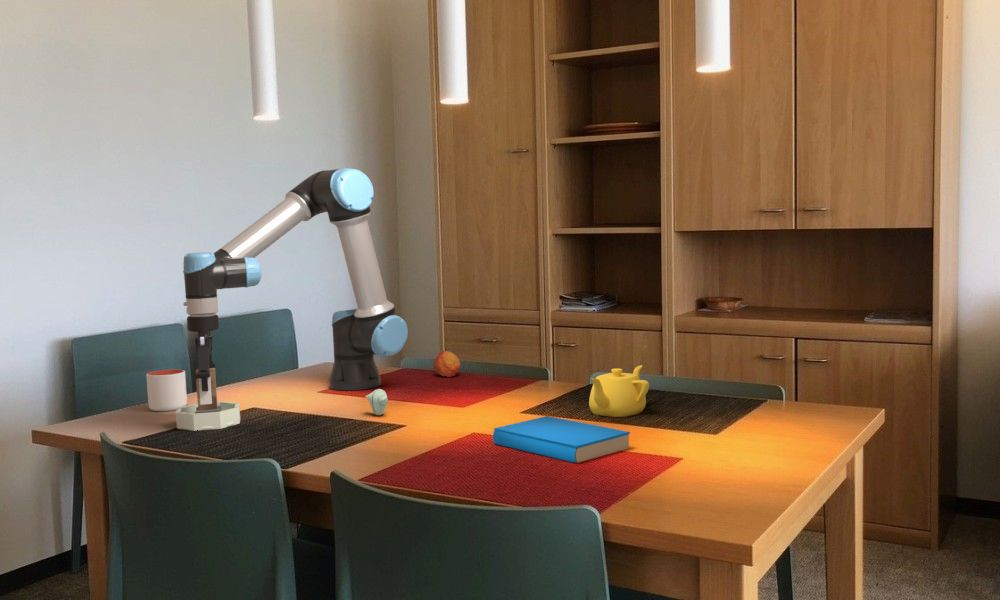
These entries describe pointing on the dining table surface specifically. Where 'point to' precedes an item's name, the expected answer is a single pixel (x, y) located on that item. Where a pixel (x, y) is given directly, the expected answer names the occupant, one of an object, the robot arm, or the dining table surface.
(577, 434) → the book
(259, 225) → the robot arm
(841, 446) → the dining table surface
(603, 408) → the teapot
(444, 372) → the fruit
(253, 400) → the dining table surface
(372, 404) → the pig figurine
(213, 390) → the brown tall block
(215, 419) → the octagonal tray
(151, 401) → the cup
